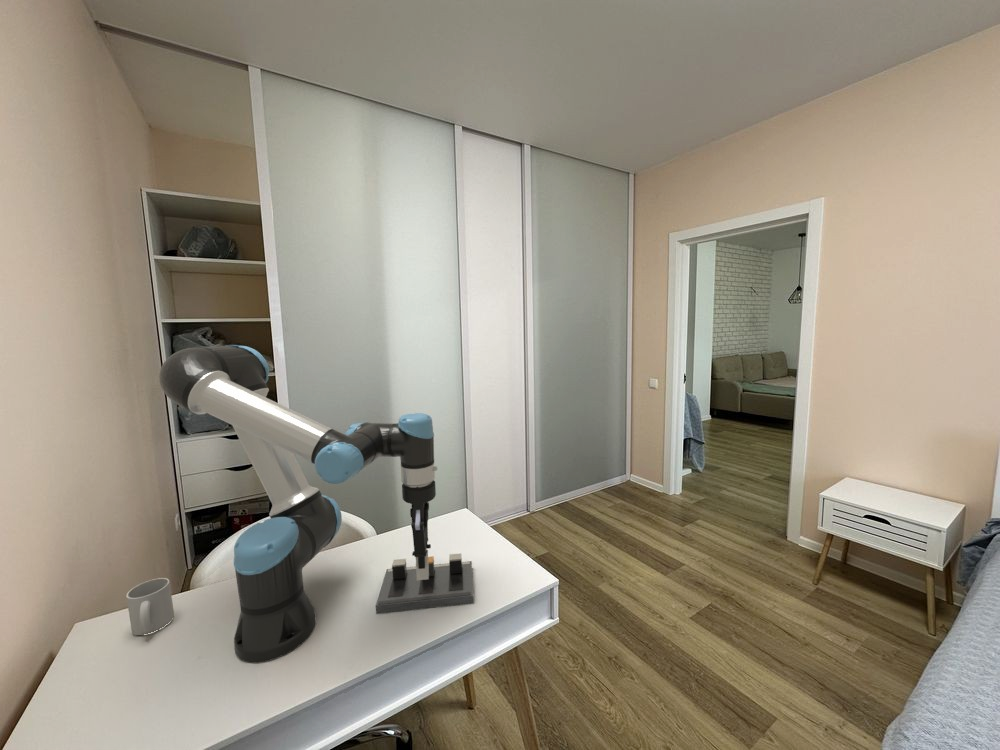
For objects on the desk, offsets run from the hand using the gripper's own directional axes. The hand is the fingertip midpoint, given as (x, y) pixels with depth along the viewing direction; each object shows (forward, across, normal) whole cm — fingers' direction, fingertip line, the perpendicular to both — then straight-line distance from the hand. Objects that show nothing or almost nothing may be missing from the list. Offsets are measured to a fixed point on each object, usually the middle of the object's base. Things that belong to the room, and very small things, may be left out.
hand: (422, 577), depth 94 cm
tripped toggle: (+3, +6, -1) cm, 7 cm away
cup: (+7, -1, +59) cm, 60 cm away
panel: (+5, +3, -1) cm, 6 cm away
